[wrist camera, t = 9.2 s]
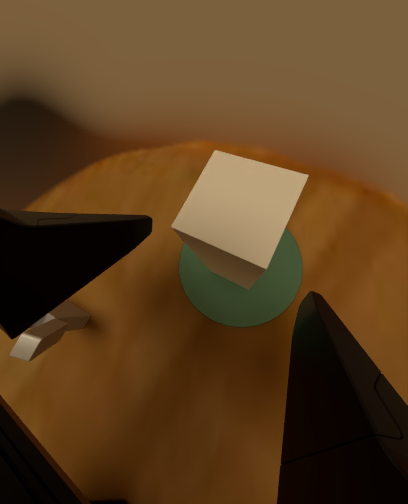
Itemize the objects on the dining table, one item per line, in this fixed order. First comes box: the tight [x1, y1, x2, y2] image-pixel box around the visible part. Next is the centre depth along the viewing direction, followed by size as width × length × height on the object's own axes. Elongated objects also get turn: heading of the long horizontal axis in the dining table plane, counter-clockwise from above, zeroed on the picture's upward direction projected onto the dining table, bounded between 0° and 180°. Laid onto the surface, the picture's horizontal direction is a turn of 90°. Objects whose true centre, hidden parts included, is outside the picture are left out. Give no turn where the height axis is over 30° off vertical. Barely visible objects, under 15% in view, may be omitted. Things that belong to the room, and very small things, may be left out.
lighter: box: [10, 301, 90, 362], centre depth 17 cm, size 7×2×8 cm, turn 66°
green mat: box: [179, 227, 302, 327], centre depth 19 cm, size 13×13×1 cm
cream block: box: [171, 150, 309, 290], centre depth 13 cm, size 4×4×12 cm
